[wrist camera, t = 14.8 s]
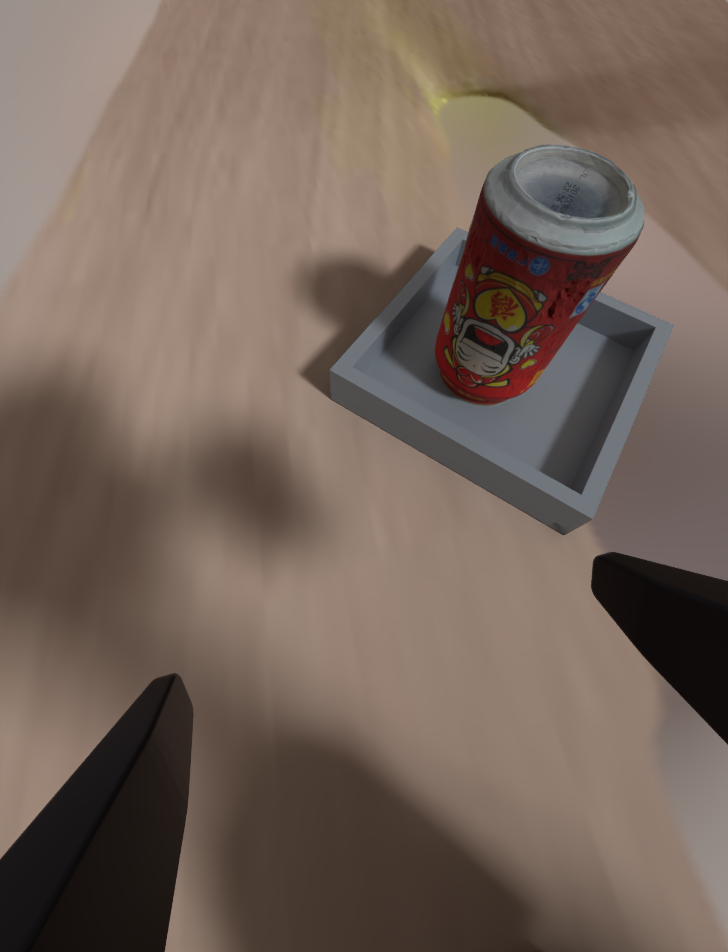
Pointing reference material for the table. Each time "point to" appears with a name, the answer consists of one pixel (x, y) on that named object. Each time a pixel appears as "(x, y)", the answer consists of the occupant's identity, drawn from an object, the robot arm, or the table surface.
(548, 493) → the slate tray
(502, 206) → the soda can
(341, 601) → the table surface
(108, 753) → the robot arm
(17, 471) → the table surface
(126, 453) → the table surface
